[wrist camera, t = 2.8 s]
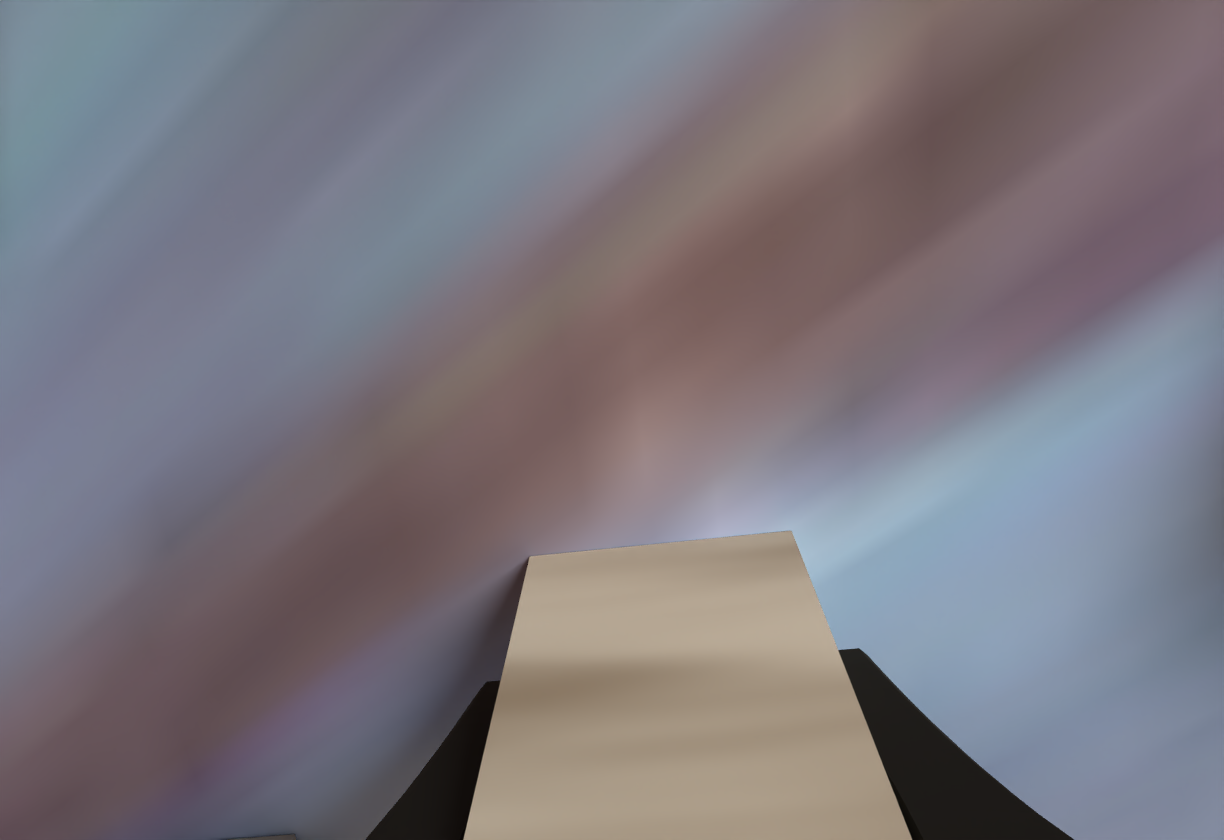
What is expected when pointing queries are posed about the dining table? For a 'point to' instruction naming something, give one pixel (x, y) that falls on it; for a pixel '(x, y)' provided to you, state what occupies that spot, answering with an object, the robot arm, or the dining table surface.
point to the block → (678, 704)
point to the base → (271, 838)
